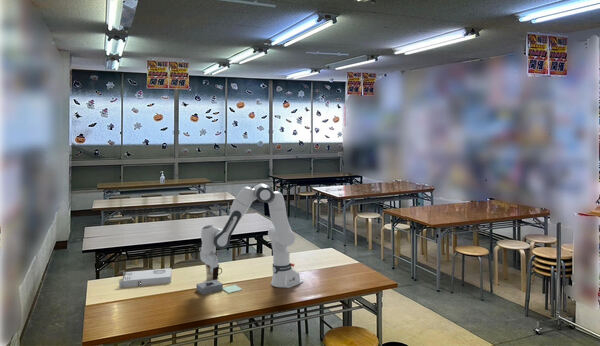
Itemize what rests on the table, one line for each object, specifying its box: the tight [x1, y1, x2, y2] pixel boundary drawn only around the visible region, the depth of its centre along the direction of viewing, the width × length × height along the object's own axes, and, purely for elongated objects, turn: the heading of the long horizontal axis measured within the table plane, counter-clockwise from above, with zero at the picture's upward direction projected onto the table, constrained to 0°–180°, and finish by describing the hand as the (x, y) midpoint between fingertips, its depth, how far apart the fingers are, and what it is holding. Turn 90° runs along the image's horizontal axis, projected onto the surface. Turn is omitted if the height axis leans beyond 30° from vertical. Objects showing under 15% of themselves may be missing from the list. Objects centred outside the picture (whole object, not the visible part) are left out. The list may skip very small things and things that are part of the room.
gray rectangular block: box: [195, 279, 224, 295], centre depth 270 cm, size 14×10×4 cm
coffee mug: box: [213, 263, 223, 280], centre depth 290 cm, size 12×9×10 cm
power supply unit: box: [118, 267, 173, 288], centre depth 288 cm, size 19×33×5 cm, turn 106°
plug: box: [205, 265, 213, 281], centre depth 269 cm, size 4×4×9 cm
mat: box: [222, 284, 243, 294], centre depth 271 cm, size 10×10×1 cm
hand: (209, 270), depth 269 cm, fingers closed on plug, 4 cm apart
